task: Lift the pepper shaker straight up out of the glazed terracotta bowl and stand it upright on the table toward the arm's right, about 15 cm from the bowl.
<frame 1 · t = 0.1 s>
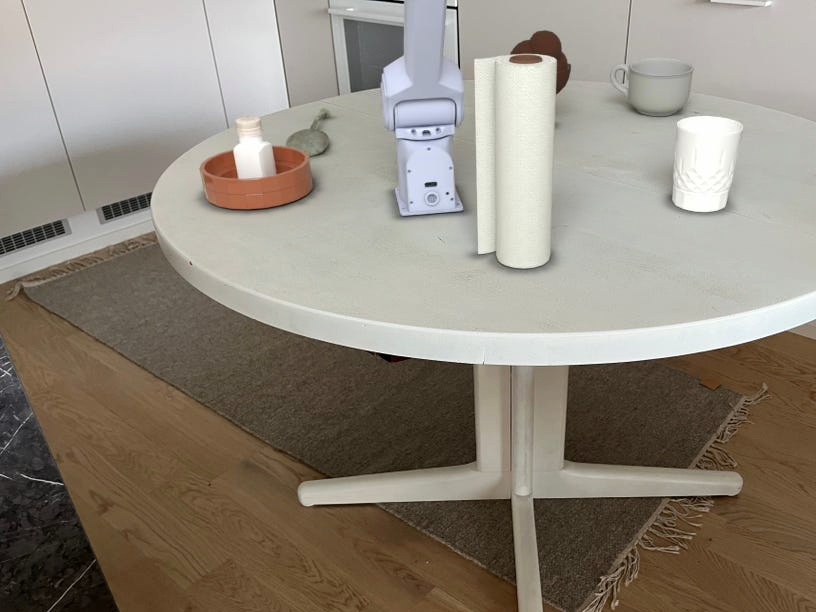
clay bowl: (260, 191, 108), on the table
teacup: (648, 112, 139), on the table
pepper shaker: (260, 191, 108), resting on clay bowl
paper towel roll: (519, 258, 89), on the table
white cup: (698, 204, 101), on the table
ice cream bowl: (536, 126, 132), on the table
soupspoon: (316, 136, 130), on the table
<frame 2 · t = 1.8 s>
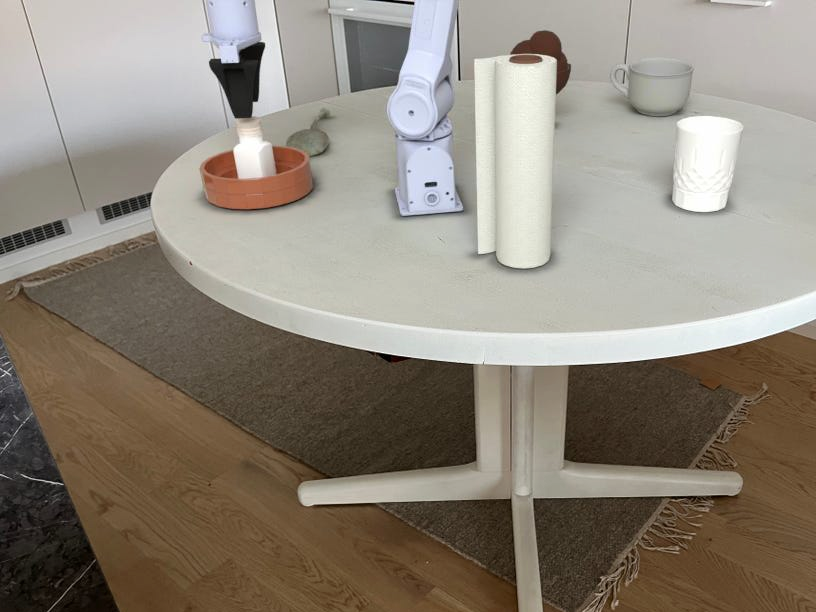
hand: (246, 109, 103), 11 cm above the table, tool pointing down, fingers open, 7 cm apart
nothing on the table moved.
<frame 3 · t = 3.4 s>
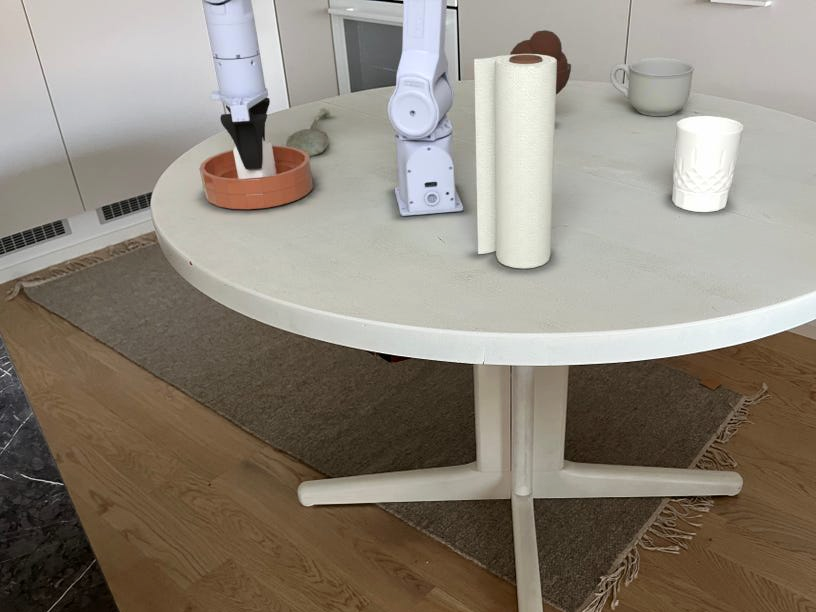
hand: (255, 161, 106), 4 cm above the table, tool pointing down, fingers closed on pepper shaker, 5 cm apart
pepper shaker: (260, 191, 108), resting on clay bowl, touching gripper
everything else where it was.
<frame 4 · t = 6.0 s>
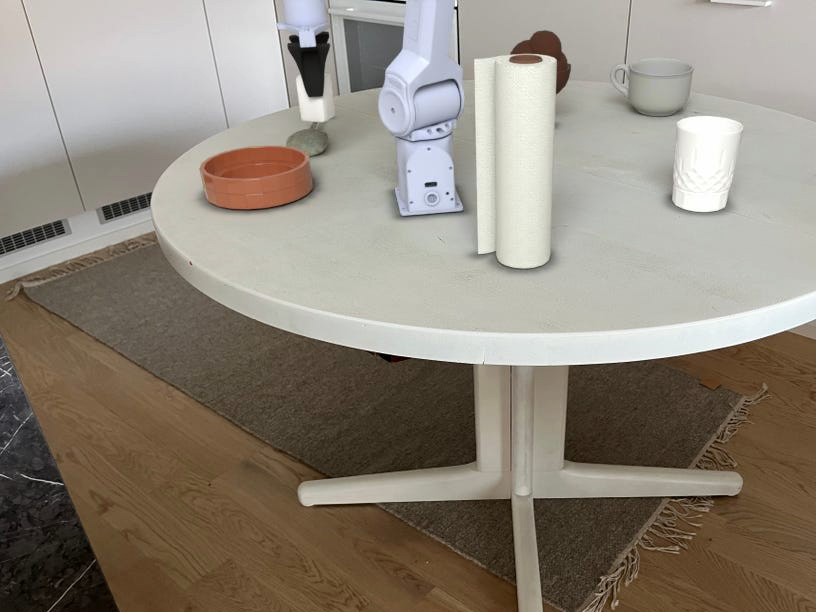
hand: (315, 91, 112), 10 cm above the table, tool pointing down, fingers closed on pepper shaker, 5 cm apart
pepper shaker: (319, 120, 114), point 6 cm above the table, touching gripper
everything else where it was.
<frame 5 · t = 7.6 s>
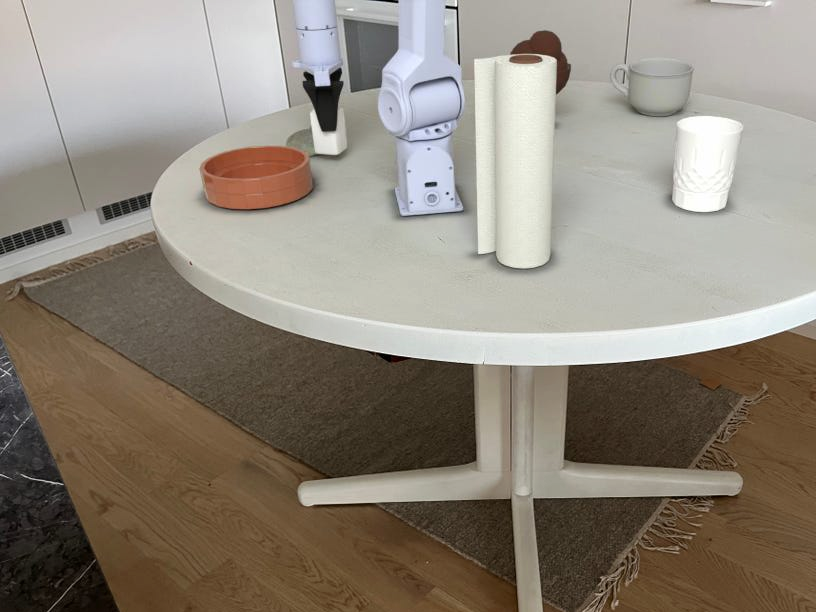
hand: (328, 125, 116), 5 cm above the table, tool pointing down, fingers closed on pepper shaker, 5 cm apart
pepper shaker: (331, 152, 119), point 1 cm above the table, touching gripper
everything else where it was.
when the fingers open (4 cm above the table, at t = 8.5 s): pepper shaker stays where it is, on the table.
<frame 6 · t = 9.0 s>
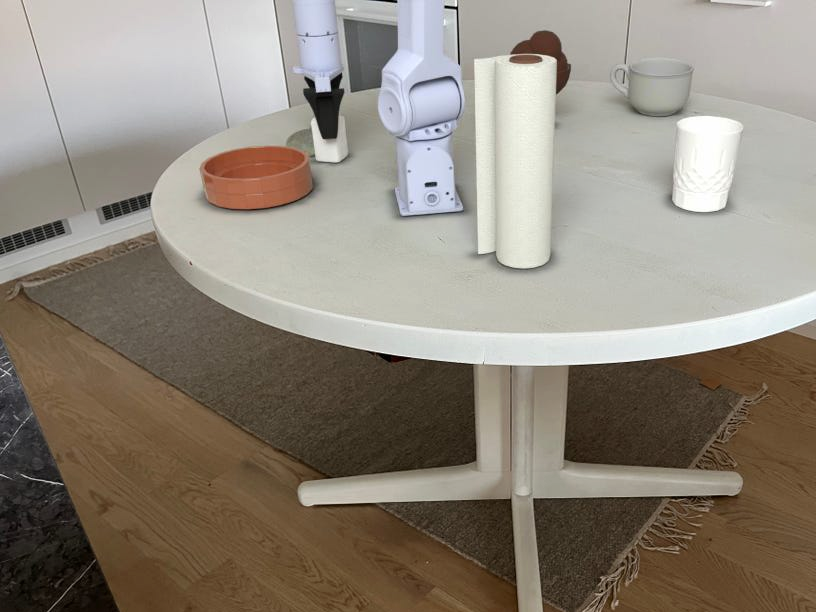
hand: (329, 130, 117), 4 cm above the table, tool pointing down, fingers open, 7 cm apart
pepper shaker: (332, 160, 119), on the table
everything else where it was.
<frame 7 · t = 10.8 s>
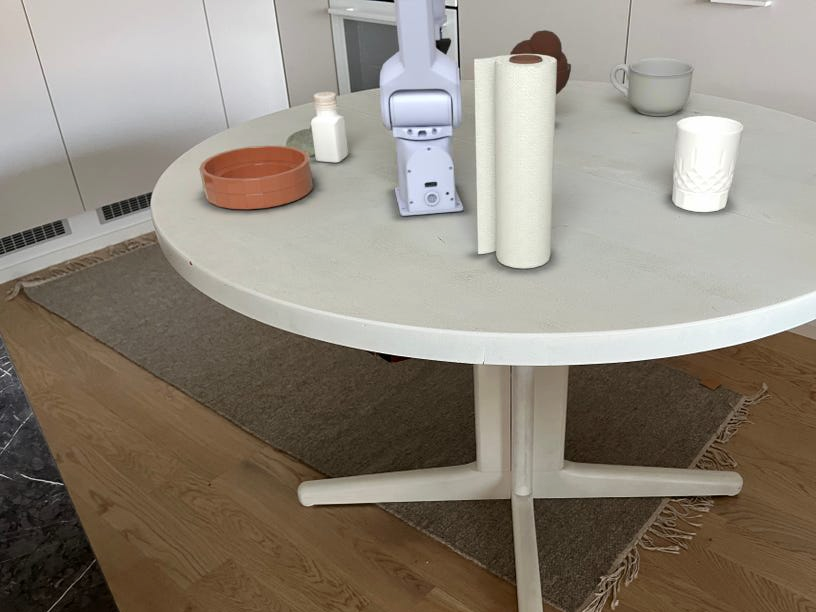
hand: (428, 84, 114), 10 cm above the table, tool pointing down, fingers open, 7 cm apart
nothing on the table moved.
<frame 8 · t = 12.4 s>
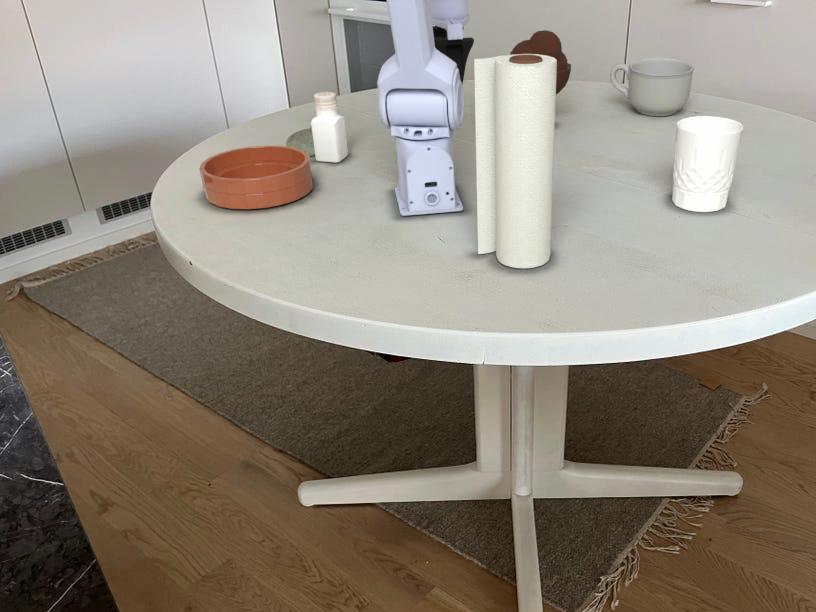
hand: (449, 83, 114), 10 cm above the table, tool pointing down, fingers open, 7 cm apart
nothing on the table moved.
at the end: pepper shaker 0.0 cm from the target spot, on the table; pepper shaker tilted 0°; pepper shaker touching table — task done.
